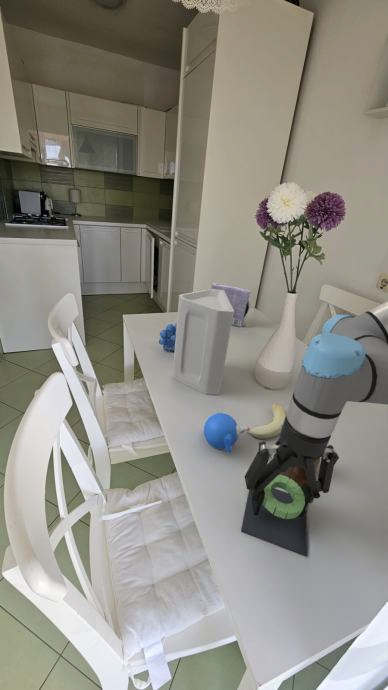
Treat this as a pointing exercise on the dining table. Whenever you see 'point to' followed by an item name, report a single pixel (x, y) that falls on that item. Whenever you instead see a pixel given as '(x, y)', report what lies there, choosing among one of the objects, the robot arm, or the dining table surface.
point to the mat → (276, 525)
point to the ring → (281, 508)
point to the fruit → (271, 424)
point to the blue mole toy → (222, 431)
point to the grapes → (168, 337)
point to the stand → (299, 473)
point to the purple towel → (236, 301)
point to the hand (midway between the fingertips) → (276, 509)
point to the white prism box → (202, 339)
